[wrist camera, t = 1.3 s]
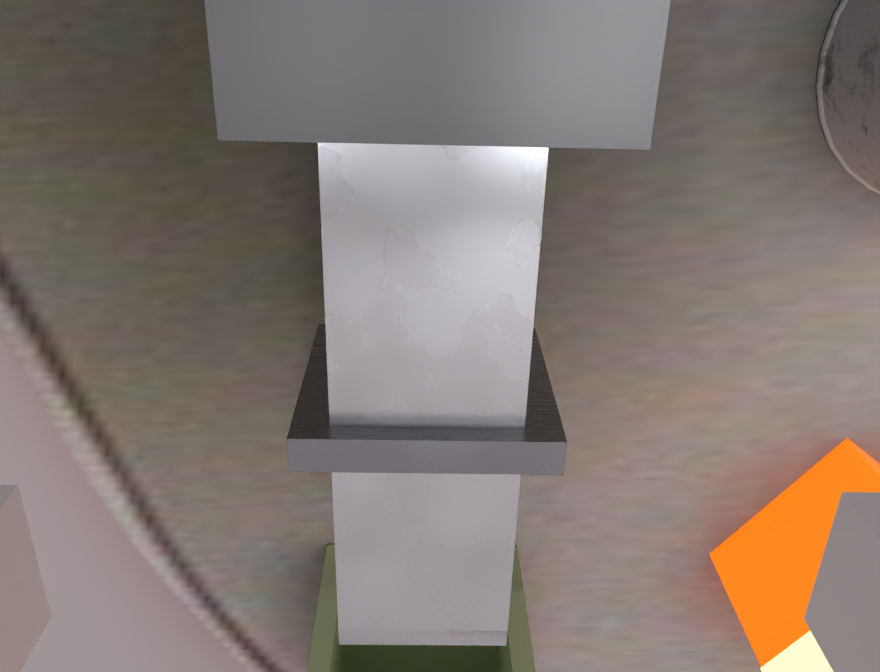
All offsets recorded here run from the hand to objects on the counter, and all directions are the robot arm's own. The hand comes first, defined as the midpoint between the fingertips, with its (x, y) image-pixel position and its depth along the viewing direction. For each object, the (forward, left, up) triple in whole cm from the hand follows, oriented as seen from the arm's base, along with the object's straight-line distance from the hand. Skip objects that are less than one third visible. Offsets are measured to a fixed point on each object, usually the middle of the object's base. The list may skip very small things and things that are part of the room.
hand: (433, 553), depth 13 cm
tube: (-3, 0, -13) cm, 13 cm away
